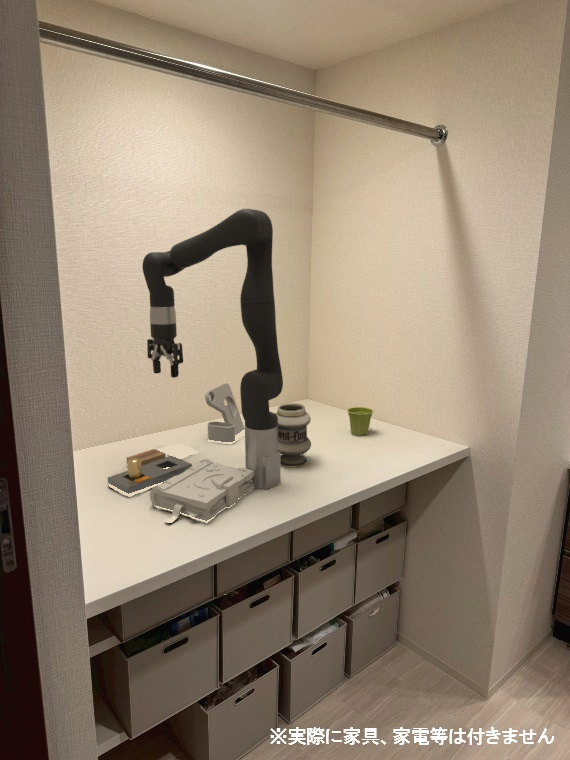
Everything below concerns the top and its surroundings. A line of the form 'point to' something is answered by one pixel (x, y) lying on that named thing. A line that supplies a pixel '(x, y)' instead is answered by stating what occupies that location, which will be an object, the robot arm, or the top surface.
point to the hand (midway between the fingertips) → (165, 375)
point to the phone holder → (224, 414)
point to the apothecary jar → (293, 434)
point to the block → (149, 456)
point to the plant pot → (359, 420)
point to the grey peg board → (150, 474)
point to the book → (203, 489)
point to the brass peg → (134, 468)
